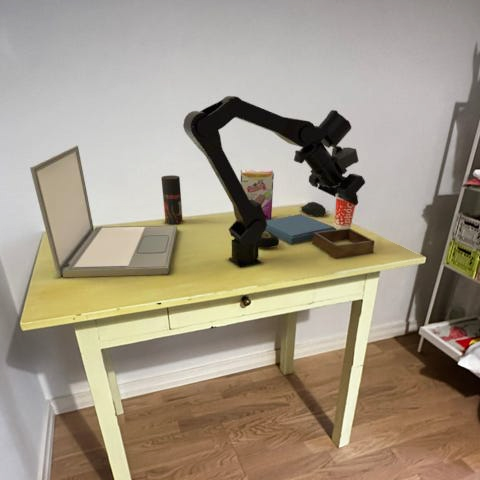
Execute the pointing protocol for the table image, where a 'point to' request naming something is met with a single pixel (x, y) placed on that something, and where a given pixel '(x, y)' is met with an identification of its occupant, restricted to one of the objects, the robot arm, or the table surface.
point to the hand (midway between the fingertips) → (350, 201)
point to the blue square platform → (296, 228)
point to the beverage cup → (343, 213)
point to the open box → (357, 246)
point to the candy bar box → (259, 188)
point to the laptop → (82, 232)
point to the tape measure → (268, 240)
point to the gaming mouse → (314, 209)
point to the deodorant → (172, 199)
